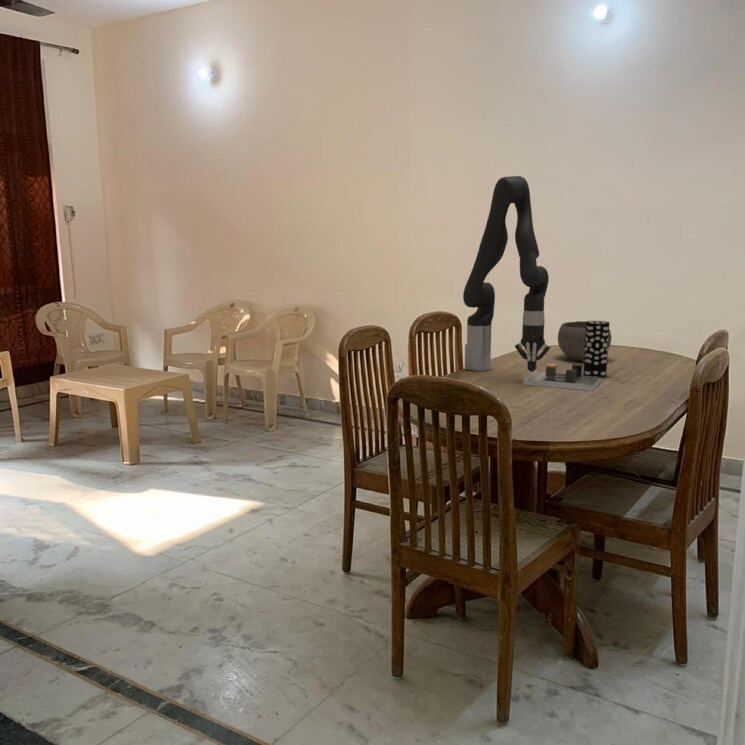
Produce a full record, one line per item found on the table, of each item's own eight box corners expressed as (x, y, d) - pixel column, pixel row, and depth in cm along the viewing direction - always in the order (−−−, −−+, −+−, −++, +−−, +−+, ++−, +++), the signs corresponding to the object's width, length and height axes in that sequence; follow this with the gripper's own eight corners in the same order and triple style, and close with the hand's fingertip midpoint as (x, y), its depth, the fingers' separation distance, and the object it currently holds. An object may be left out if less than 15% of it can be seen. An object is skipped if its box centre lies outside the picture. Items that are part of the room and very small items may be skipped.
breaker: (545, 376, 272) (546, 364, 271) (547, 374, 275) (548, 363, 274) (554, 376, 271) (554, 365, 270) (556, 375, 273) (556, 364, 273)
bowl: (550, 361, 311) (551, 324, 308) (566, 353, 329) (568, 318, 325) (601, 366, 301) (604, 328, 297) (615, 357, 318) (618, 322, 315)
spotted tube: (607, 378, 279) (610, 324, 275) (583, 377, 281) (586, 323, 277) (605, 373, 287) (608, 320, 283) (582, 373, 289) (585, 320, 285)
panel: (523, 384, 271) (523, 367, 269) (533, 376, 283) (534, 360, 282) (592, 390, 260) (593, 373, 259) (600, 382, 273) (601, 365, 271)
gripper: (512, 323, 271) (510, 371, 275) (549, 325, 266) (547, 374, 269) (518, 320, 278) (516, 367, 282) (554, 322, 272) (552, 370, 276)
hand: (531, 371), depth 275 cm, fingers closed
